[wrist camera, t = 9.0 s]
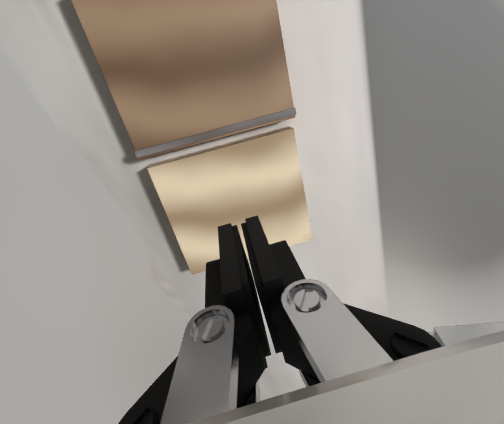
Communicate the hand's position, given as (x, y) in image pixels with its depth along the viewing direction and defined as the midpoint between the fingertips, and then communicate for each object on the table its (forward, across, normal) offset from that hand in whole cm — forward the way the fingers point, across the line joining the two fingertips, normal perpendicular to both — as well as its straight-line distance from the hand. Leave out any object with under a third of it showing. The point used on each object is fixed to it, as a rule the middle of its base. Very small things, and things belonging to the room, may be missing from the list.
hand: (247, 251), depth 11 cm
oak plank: (+14, 0, +4) cm, 15 cm away
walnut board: (+15, 0, -8) cm, 17 cm away
